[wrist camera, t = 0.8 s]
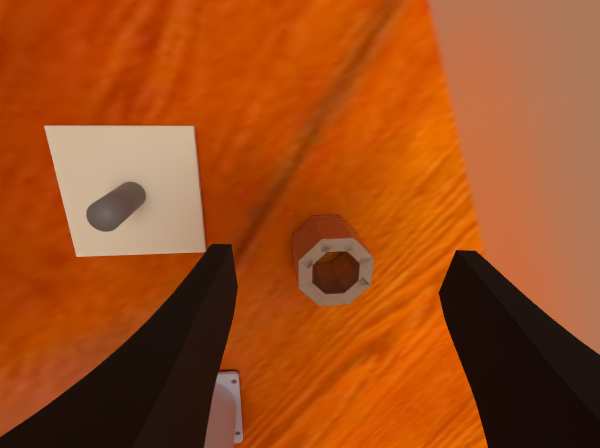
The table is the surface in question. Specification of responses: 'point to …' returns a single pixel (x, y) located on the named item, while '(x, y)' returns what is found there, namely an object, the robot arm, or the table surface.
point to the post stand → (129, 188)
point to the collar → (342, 271)
